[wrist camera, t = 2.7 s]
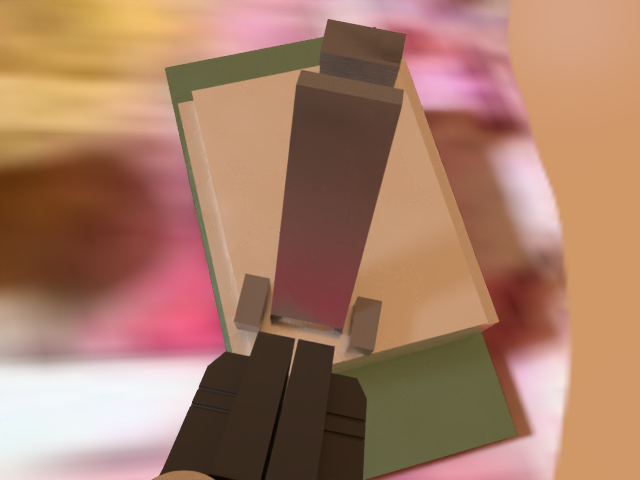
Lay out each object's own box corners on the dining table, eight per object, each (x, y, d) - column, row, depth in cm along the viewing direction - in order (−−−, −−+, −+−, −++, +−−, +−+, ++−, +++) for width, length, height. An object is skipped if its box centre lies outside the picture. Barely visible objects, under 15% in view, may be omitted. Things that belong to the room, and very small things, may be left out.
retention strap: (343, 321, 26) (340, 339, 25) (274, 307, 26) (269, 324, 25) (404, 88, 17) (402, 106, 17) (301, 68, 17) (295, 85, 17)
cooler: (168, 79, 36) (134, -25, 28) (372, 39, 37) (395, -70, 29) (261, 507, 29) (251, 532, 21) (509, 435, 30) (587, 432, 22)
